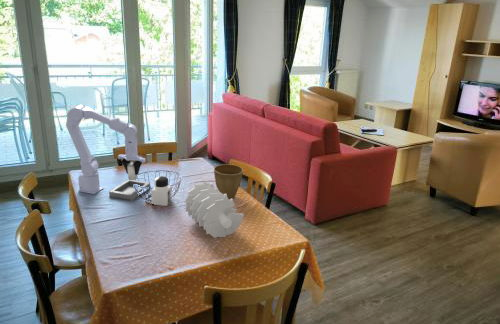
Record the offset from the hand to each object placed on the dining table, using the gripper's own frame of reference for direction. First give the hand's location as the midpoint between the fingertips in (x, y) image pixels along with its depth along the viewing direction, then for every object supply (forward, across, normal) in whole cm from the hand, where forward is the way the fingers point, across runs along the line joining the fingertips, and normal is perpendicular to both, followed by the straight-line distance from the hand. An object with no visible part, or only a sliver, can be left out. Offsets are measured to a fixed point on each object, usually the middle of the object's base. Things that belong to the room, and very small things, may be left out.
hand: (132, 173), depth 195 cm
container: (+10, +20, -7) cm, 23 cm away
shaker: (+3, 0, 0) cm, 3 cm away
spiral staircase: (+10, +52, -21) cm, 57 cm away
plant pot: (+10, +49, +10) cm, 51 cm away
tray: (+9, 0, -3) cm, 10 cm away
